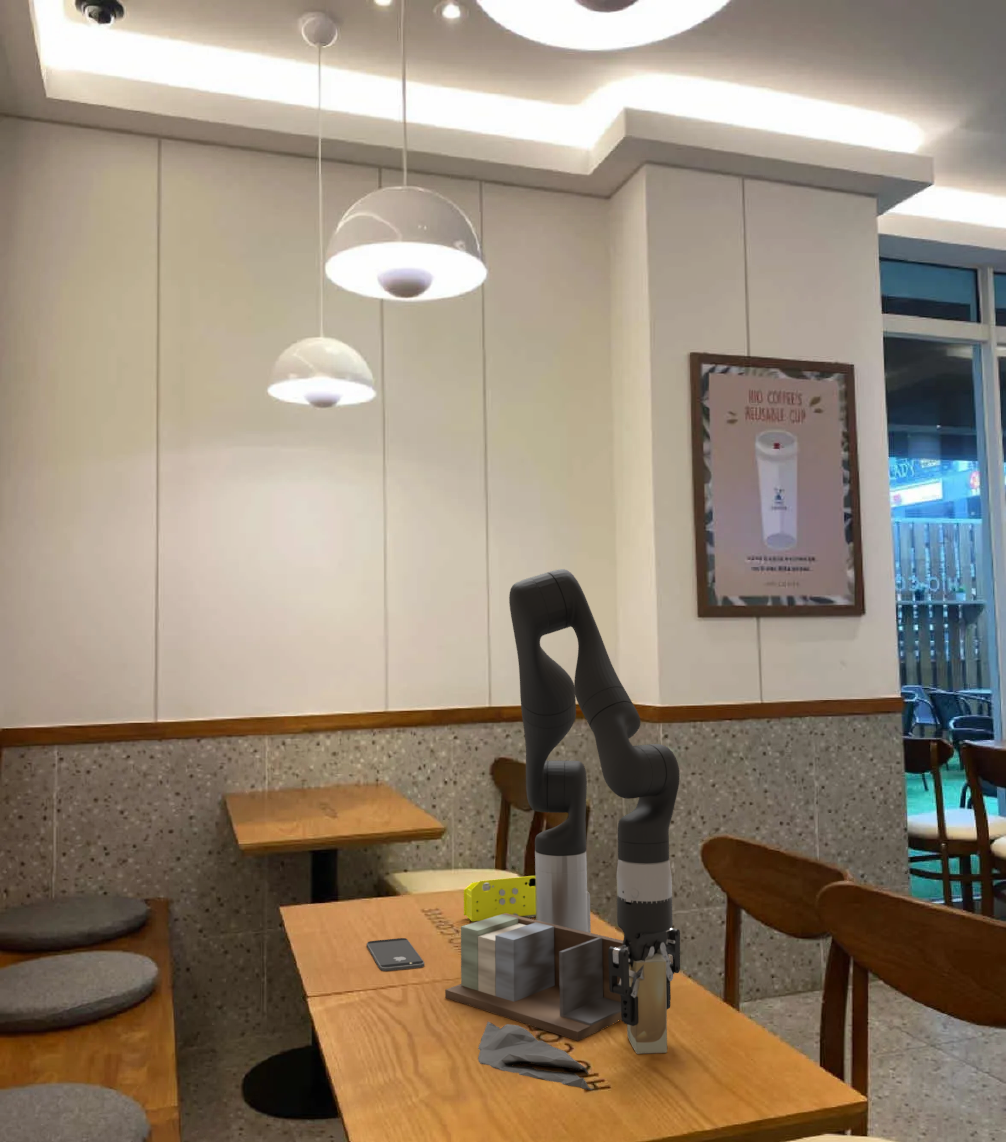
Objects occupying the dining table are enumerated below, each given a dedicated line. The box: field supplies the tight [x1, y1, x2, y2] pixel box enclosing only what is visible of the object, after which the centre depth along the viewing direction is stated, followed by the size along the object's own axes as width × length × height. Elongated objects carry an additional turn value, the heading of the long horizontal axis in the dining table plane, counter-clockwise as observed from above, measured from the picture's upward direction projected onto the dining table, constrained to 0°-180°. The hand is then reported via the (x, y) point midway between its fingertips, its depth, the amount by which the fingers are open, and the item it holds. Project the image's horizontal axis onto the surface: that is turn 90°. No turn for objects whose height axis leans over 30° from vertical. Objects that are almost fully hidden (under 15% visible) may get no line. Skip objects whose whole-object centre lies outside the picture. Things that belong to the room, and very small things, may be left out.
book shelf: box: [444, 913, 624, 1042], centre depth 153 cm, size 14×26×10 cm, turn 48°
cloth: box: [477, 1021, 594, 1091], centre depth 135 cm, size 26×14×2 cm, turn 18°
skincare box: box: [626, 953, 668, 1055], centre depth 138 cm, size 6×4×12 cm
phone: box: [366, 937, 425, 972], centre depth 178 cm, size 8×1×16 cm
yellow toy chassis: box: [463, 875, 536, 922], centre depth 202 cm, size 16×6×8 cm, turn 110°
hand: (646, 1015), depth 137 cm, fingers closed on skincare box, 7 cm apart
